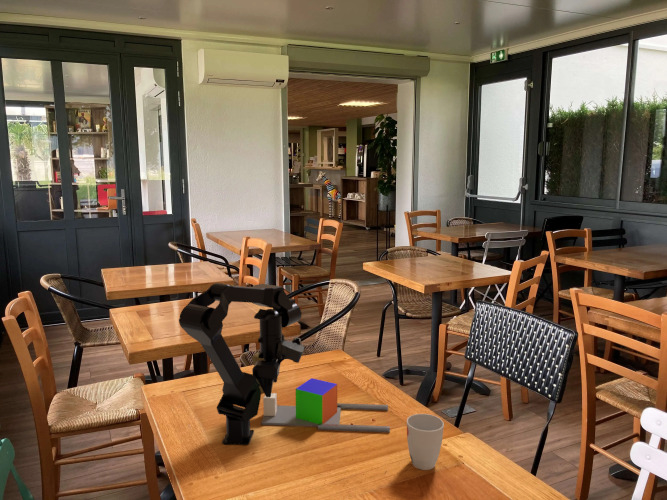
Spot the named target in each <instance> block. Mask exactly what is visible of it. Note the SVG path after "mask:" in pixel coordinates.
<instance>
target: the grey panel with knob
mask: <svg viewBox="0 0 667 500" xmlns="http://www.w3.org/2000/svg"><path fill="white" fill-rule="evenodd" d="M341 411H342V409H341V408H339V407H337V413H336V414H335V415H334V416H332V417H331V418H330V419H329V420H328V421H327V422H325V423H324V424H341V423H340V421H341V413H342V412H341ZM260 425H262V426H288V427H311V428H312V427H315V428H318V424H317V423H313V422H309V421H306V420H302V419H298V418H296V405H278V393H275V392H273V393H272V392H271V397H266V395H265V394H264V396H263V417H262V419H261V421H260Z"/></svg>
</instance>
